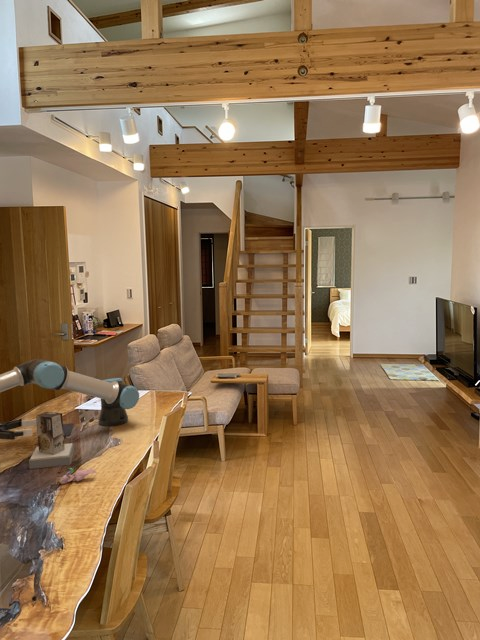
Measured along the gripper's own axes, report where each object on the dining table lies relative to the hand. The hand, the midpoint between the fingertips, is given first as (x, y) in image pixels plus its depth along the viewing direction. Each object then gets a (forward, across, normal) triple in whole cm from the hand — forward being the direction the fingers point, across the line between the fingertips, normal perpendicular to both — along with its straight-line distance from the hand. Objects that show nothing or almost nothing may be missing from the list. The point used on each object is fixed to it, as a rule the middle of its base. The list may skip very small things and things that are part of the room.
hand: (35, 427), depth 215 cm
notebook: (+4, -39, -16) cm, 42 cm away
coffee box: (+6, -1, -11) cm, 13 cm away
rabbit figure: (+18, +25, -16) cm, 35 cm away
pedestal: (+6, -1, -15) cm, 16 cm away
